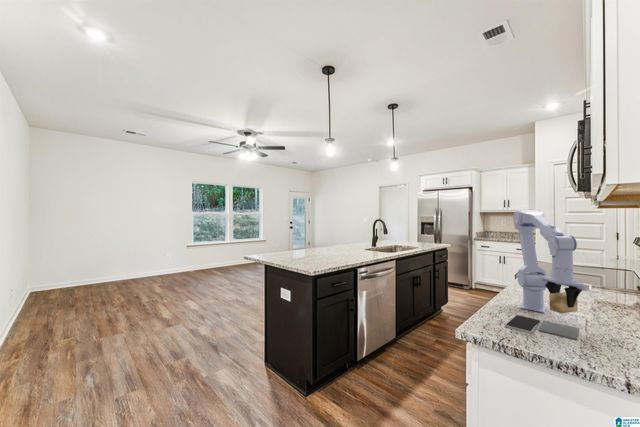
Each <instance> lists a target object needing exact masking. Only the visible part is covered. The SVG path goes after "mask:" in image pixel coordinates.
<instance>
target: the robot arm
mask: <svg viewBox="0 0 640 427" xmlns="http://www.w3.org/2000/svg"><path fill="white" fill-rule="evenodd" d="M512 218H513V219H512V220H513V224H514V228H515V230H518V234H519V241H520V246H521V247H520V248H521V253H522V260H523V266H522V267H520V268H519V269H518V270H517V283H518V285H519V286H520V287H521V288H522V305H521V306H520V309H524V310H529V311H535V312H539V313H545V312H546V310H547V308H548V307H547V306H546V305H545V297H544V296H545V294H544V291H546V289H547V290H548V292H549V294H552V293H560V292H561V289H562V287H563V286H564V292H566V296H567V306H568V307H569V308H571V307H574V304H575V301H576V299H577V300H578V297H579V295H580V294H581V293H582V291H590V285H589V284H587V283H583V282H579V281H577V280H574V251H575V252H576V250H577V247H578V242H577V240H576V238H575V237H574V236H573V235H569V234H565V233H564V232H563V231H561V230H560V229H559V227H557V225H556V224H550V223H549V222H548V221H547V220H546V219H545V213H544V211H542V210H541V209H529V210H528V209H525V210H523V209H522V210H521V209H520V210H519V209H516V210H515V211H514V213H513V217H512ZM537 229H539V234H540V235H541V236H542V237H543V239H544V240H545V241H546V242H547V247H548V249H549V253H550V255H551V266H552V267H551V269H552V270H551V272H552V276H548V275H547V272H546V270H545V269H543V268H542V267H540V266H539V263H538V262H539V261H538V256H537V251H536V246H535V240H534V234H533V231H534V230H537Z"/></svg>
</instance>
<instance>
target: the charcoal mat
mask: <svg viewBox="0 0 640 427" xmlns="http://www.w3.org/2000/svg"><path fill="white" fill-rule="evenodd" d="M541 322H542V323H540V327H539V328H538V332H541V333H545V334H549V335H553V336H558V337H563V338H568V339H571V340H575V341H578V338H579V331H580V327H576V326H571V325H567V324H564V323H562V324H561V323H558V322H553V321H547V320H542V321H541Z"/></svg>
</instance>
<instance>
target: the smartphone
mask: <svg viewBox="0 0 640 427" xmlns="http://www.w3.org/2000/svg"><path fill="white" fill-rule="evenodd" d="M541 322H542V321H541V320H540V319H537V318H532V317H528V316H523V315H519V314H516V315H515V316H514V317H513V318H512V319H511V320H510V321H508V322H507V323H506V324H505V327H506V328H508V329H512V330H515V331H521V332H524V333H527V334H532V333H534V332H535V331H536V329H537V327H538V326H539V325H541Z"/></svg>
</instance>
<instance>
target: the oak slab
mask: <svg viewBox="0 0 640 427" xmlns="http://www.w3.org/2000/svg"><path fill="white" fill-rule="evenodd" d="M548 295H549V296H548V298H549V301H548V302H549V310H550V311H552V312H556V313H558V314H561V315H563V314H568V313H569V314H570V313H575V312H578V310H579V309H578V298H577V299H576V301H575V304H574V307H571V308H569V307H568V306H567V296H566V292H565V291H560V293H552V294H550V293H549V294H548Z"/></svg>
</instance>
